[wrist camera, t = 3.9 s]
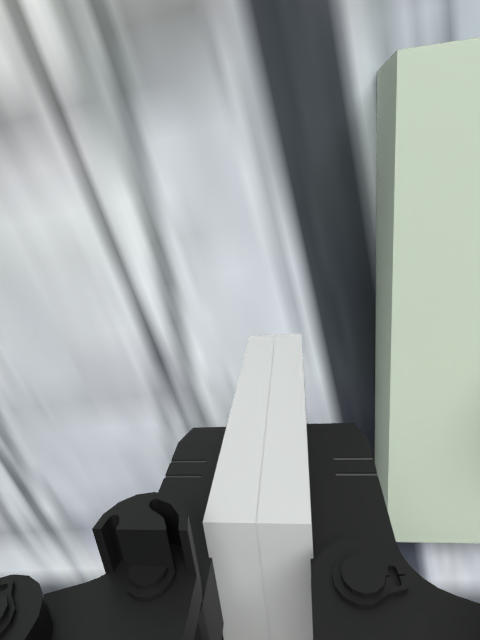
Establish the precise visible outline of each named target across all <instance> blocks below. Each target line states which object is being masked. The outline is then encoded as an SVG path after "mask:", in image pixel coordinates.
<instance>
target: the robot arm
mask: <svg viewBox="0 0 480 640" xmlns="http://www.w3.org/2000/svg"><path fill="white" fill-rule="evenodd" d="M92 530H93V533H94V536H95V540H96V543H97V546H98V549H99V553H100V556H101V559H102V562H103V566H104V569H105V572H106V574H105V575H103V576H101V577H99V578H97V579H94V580H91V581H89V582H86V583H83V584H79V585H76V586H72V587H69V588H65V589H62V590H58V591H54V592H51V593H47V594H44V595H43V592H42V590H41V587H40V585H39V583H38V582H36V581H35V580H34V579H32V578H31V577H30V576H25V575H9V576H5V577H2V578H0V640H221V639H222V632H223V637H224V640H480V604H479V603H476V602H473V601H470V600H467V599H464V598H461V597H458V596H455V595H453V594H451V593H448V592H446V591H444V590H441V589H439V588H437V587H436V586H434V585H433V584H431V583H430V582H428V581H426V580H425V579H423V578H422V577H421V576H420V575H419V574H418V573H417V572H416V571H415V570H414V569H412V568H411V567H410V566H409V564H408V563H407V561H406V560H405V559H404V557H403V556H402V554H401V552H400V550H399V548H398V545H397V543H396V540H395V536H394V533H393V529H392V525H391V522H390V518H389V514H388V511H387V507H386V503H385V500H384V496H383V492H382V489H381V485H380V481H379V478H378V476H377V470H376V466H375V463H374V460H373V455H372V452H371V448H370V444H369V441H368V438H367V437H366V436H365V435H364V434H363V433H362V432H361V430H360V429H359V428H358V427H357V426H356V425H355V424H354V423H332V424H307V418H306V401H305V384H304V367H303V350H302V334H301V333H298V334H278V335H259V336H249V338H248V342H247V346H246V350H245V354H244V358H243V362H242V366H241V370H240V374H239V378H238V382H237V386H236V390H235V394H234V398H233V402H232V406H231V410H230V414H229V418H228V422H227V426H226V427H207V428H193V429H192V430H191V431H190V432H189V433H188V434H187V435H186V436H185V437H184V438H183V439H182V440H181V441H180V442H179V443H178V445H177V447H176V450H175V452H174V455H173V457H172V463H170V465H169V467H168V470H167V472H166V478H164V480H163V482H162V485H161V487H160V489H159V492H158V493H156V492H153V493H146V494H139V495H135V496H133V497H130V498H128V499H126V500H123V501H121V502H119V503H118V504H116V505H115V506H114V507H112V508H111V509H110V510H108V511H107V512H106V513H104V514H103V516H102V517H101V518H100V519H99V521H98V522H97V523H96V525H95V526H94V527H93V529H92Z"/></svg>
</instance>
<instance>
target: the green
mask: <svg viewBox="0 0 480 640" xmlns="http://www.w3.org/2000/svg"><path fill="white" fill-rule="evenodd" d="M375 466H376V470H377V476H378V478H379V481H380V485H381V489H382V492H383V496H384V500H385V503H386V507H387V511H388V514H389V518H390V522H391V525H392V529H393V533H394V536H395V540H396V542H427V543H480V38H473V39H467V40H460V41H454V42H447V43H440V44H434V45H427V46H421V47H414V48H407V49H401V50H397V51H396V52H395V53H394V54H393V55H392V56H391V57H390V58H389V59H388V60H387V61H386V62H385V63H384V65H383V66H382V67H381V68H380V69H379V70H378V71H377V189H376V341H375Z"/></svg>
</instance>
